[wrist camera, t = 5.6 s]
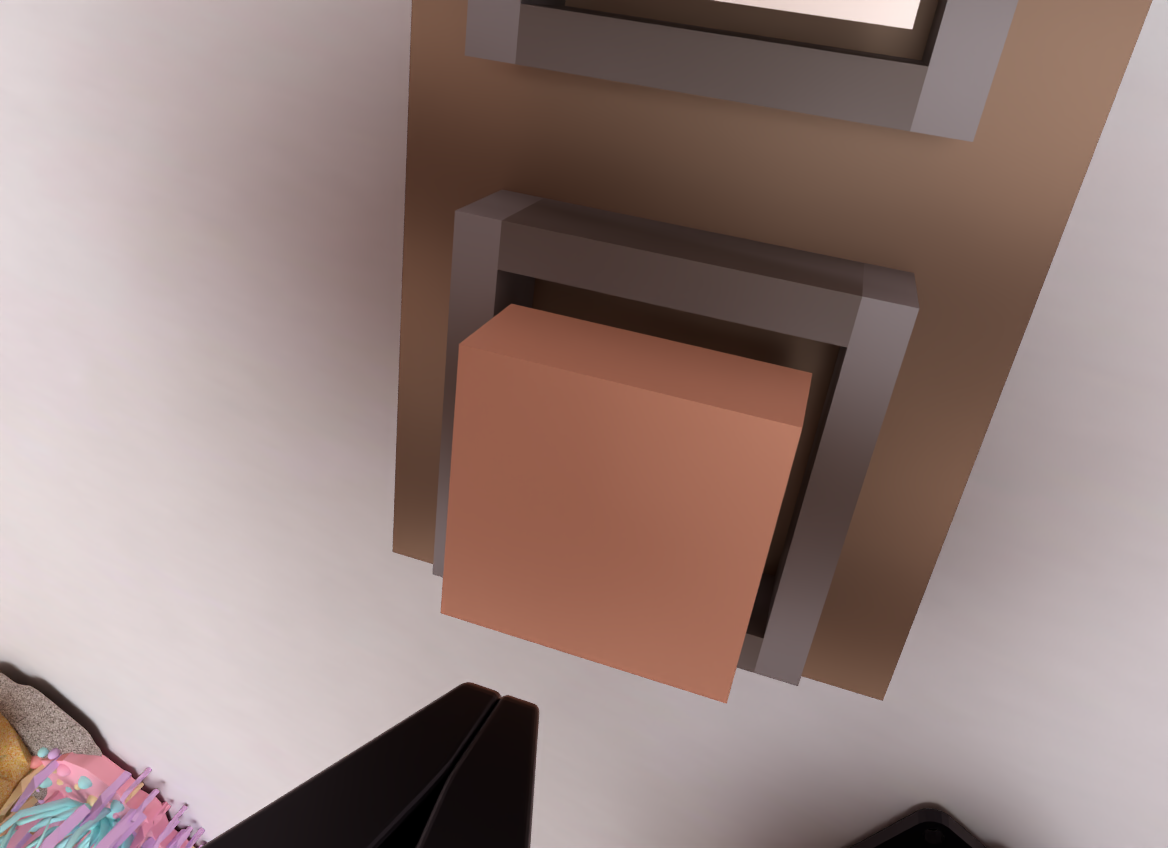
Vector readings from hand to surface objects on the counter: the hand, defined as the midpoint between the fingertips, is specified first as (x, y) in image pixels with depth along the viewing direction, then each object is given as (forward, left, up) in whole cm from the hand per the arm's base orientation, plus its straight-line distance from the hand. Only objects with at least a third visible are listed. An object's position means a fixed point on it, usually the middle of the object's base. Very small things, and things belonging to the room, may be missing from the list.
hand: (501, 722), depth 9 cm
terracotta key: (0, 0, -6) cm, 6 cm away
